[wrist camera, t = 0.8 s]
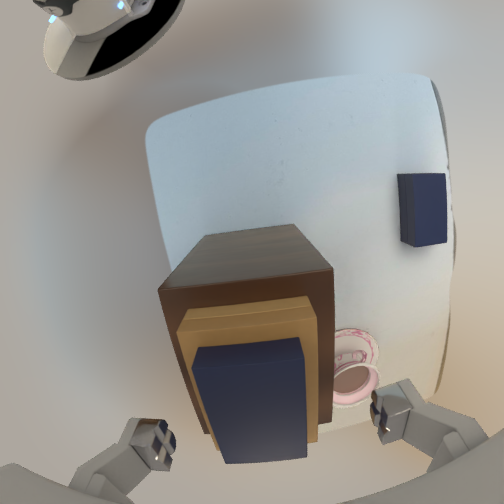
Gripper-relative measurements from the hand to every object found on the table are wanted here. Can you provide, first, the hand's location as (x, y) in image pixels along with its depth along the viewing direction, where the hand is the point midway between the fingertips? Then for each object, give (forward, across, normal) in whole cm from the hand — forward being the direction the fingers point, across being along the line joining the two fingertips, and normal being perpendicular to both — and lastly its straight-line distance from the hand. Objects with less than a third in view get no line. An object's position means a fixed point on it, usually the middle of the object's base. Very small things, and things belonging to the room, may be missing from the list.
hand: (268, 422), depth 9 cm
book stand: (+26, +1, +4) cm, 27 cm away
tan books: (+8, +1, +4) cm, 9 cm away
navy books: (+26, -22, -2) cm, 35 cm away
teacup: (+27, -9, +19) cm, 34 cm away
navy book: (+6, +1, +4) cm, 7 cm away
